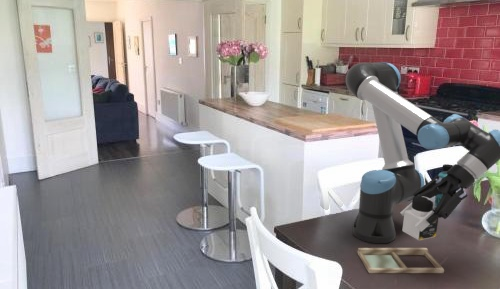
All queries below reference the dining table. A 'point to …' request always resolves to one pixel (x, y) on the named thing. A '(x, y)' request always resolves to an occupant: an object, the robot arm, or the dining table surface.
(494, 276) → the dining table surface
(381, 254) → the wooden divided tray
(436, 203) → the beverage bottle
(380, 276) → the dining table surface
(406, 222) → the medicine bottle
